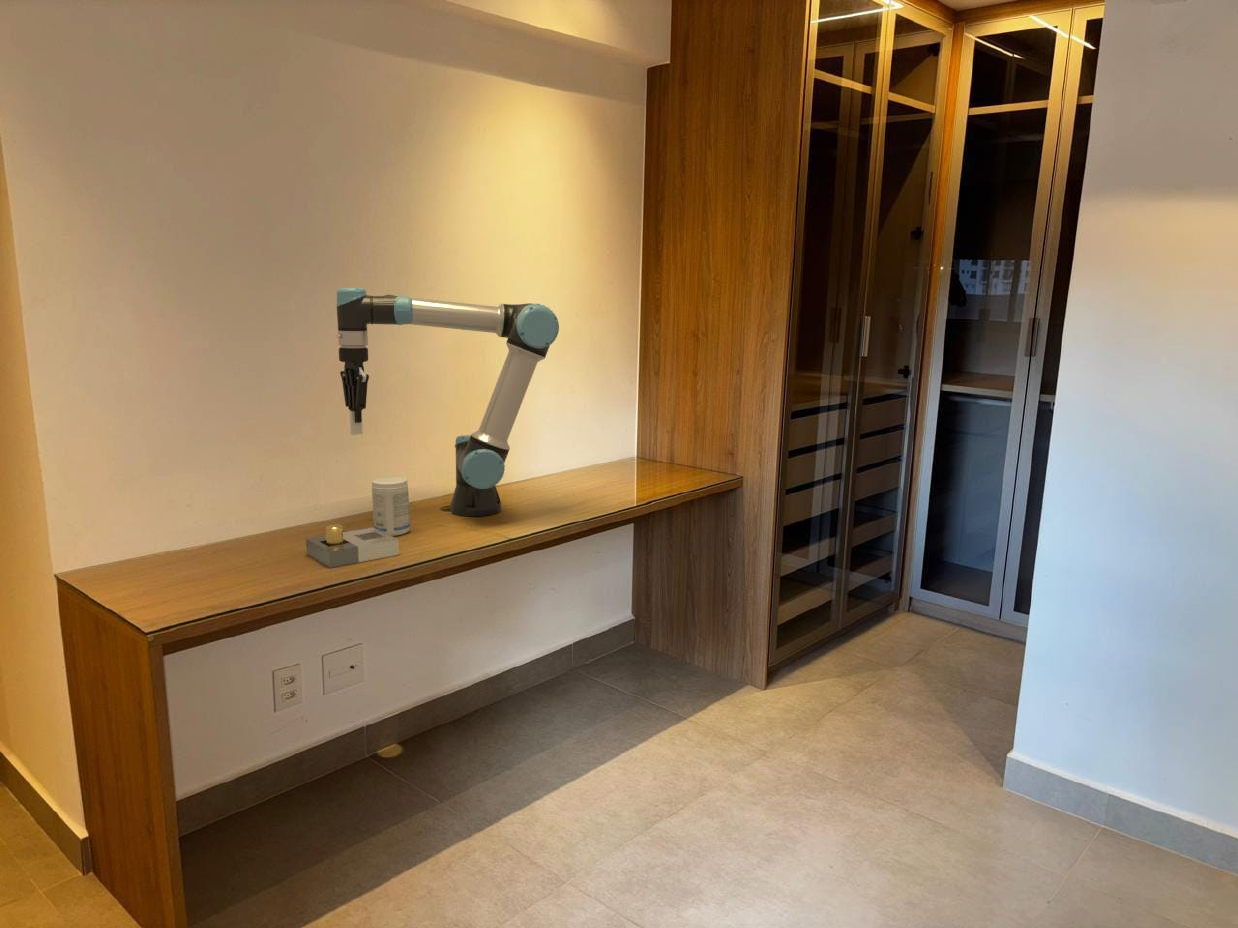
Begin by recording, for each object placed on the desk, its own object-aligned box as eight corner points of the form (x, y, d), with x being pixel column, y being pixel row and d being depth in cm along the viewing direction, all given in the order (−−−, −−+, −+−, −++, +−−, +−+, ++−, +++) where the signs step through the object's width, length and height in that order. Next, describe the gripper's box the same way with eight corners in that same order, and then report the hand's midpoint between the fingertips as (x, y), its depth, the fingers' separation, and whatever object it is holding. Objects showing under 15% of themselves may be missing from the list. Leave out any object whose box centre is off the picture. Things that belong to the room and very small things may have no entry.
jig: (374, 542, 235) (373, 527, 234) (398, 554, 224) (398, 539, 223) (306, 554, 223) (305, 538, 222) (329, 568, 213) (328, 551, 212)
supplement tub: (409, 526, 250) (408, 475, 247) (410, 536, 241) (409, 482, 238) (373, 528, 248) (371, 476, 245) (373, 537, 239) (371, 484, 236)
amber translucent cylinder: (340, 554, 224) (338, 523, 222) (346, 558, 221) (345, 526, 219) (324, 557, 221) (323, 526, 219) (330, 561, 218) (329, 529, 216)
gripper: (329, 345, 240) (333, 432, 245) (350, 348, 231) (353, 438, 235) (356, 344, 245) (359, 429, 250) (377, 347, 236) (380, 436, 240)
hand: (356, 434), depth 243 cm, fingers closed
